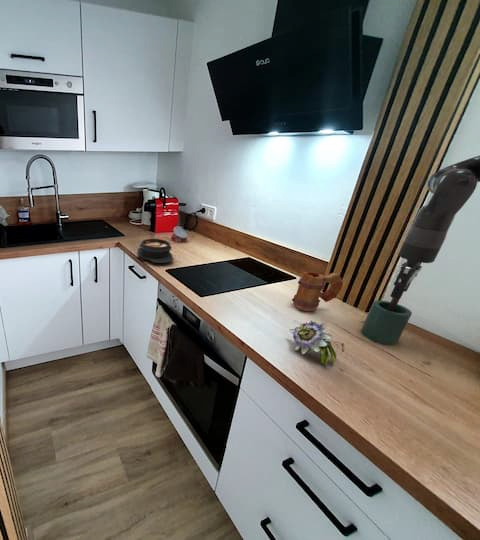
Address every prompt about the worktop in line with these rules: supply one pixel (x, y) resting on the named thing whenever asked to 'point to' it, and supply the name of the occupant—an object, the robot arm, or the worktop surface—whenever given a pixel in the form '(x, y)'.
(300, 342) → the passion flower
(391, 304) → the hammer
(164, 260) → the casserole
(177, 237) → the canned food
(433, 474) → the worktop surface
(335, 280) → the mug
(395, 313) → the green pencil cup
